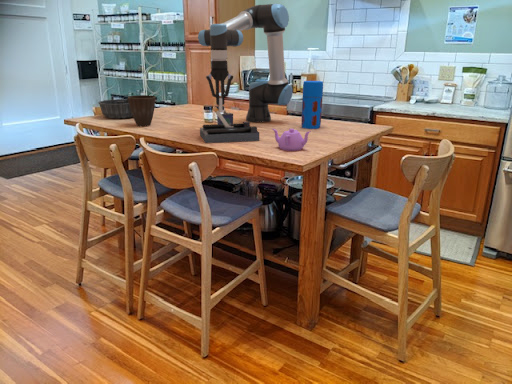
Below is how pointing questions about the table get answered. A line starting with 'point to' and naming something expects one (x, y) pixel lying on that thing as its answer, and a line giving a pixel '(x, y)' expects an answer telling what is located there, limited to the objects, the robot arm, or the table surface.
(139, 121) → the plant pot
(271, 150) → the table surface
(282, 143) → the teapot
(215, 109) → the lever
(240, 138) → the tray
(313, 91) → the thermos
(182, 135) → the table surface
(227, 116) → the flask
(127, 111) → the bundt pan
